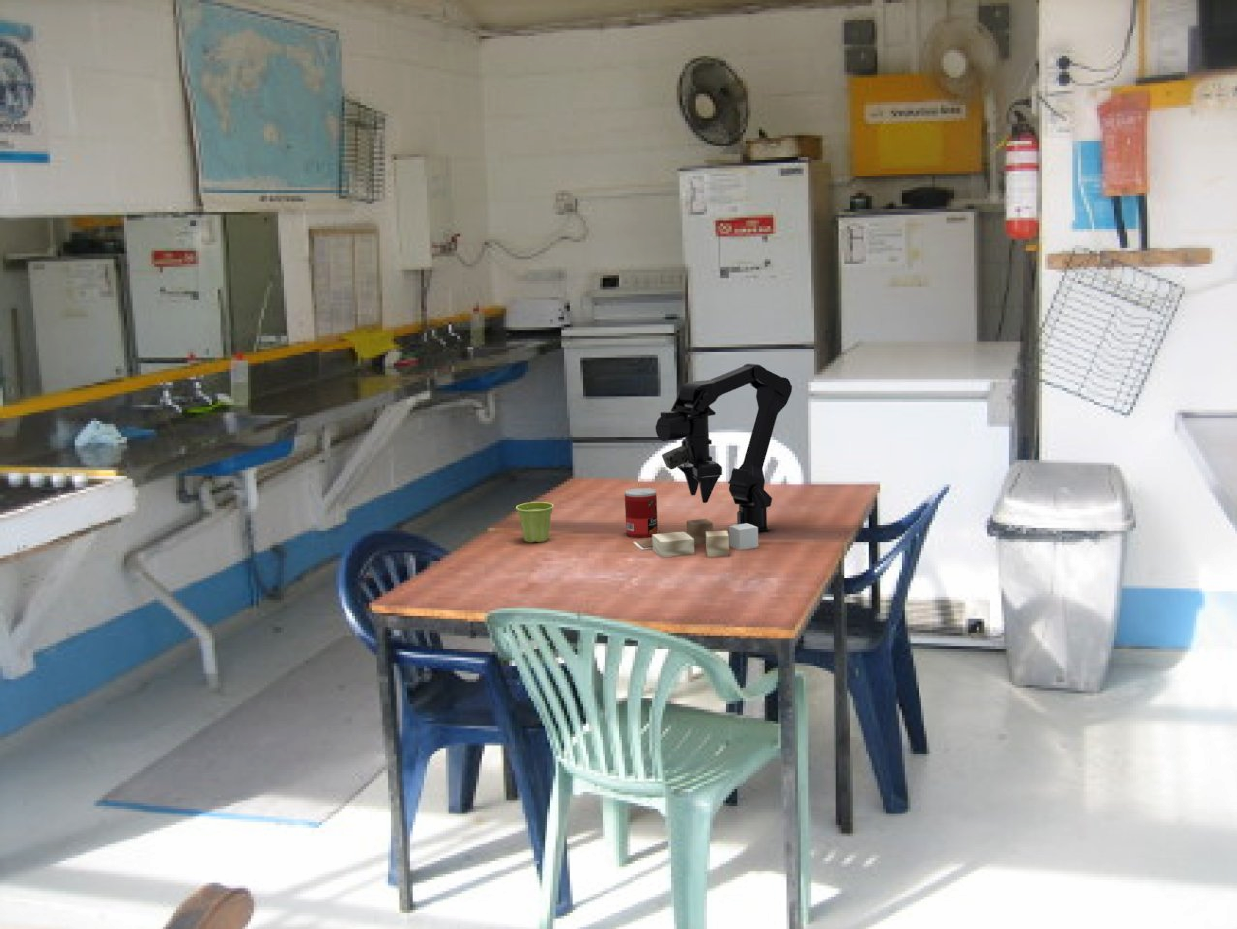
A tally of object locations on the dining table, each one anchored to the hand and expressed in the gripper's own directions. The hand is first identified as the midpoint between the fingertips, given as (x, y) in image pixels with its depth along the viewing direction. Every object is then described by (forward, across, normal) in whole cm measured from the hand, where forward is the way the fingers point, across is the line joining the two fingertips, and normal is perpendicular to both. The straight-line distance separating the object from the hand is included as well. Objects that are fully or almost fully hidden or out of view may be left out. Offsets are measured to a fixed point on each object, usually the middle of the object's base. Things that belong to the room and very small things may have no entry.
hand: (699, 498), depth 322 cm
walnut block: (+11, 0, 0) cm, 11 cm away
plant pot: (+11, -18, -37) cm, 43 cm away
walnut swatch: (+10, -1, -12) cm, 16 cm away
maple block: (+11, +13, 0) cm, 17 cm away
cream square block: (+11, +7, -9) cm, 16 cm away
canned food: (+11, -13, -11) cm, 20 cm away
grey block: (+11, +9, +8) cm, 16 cm away
